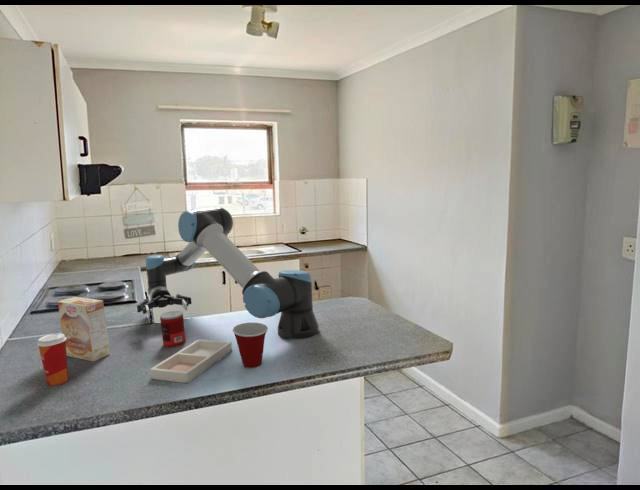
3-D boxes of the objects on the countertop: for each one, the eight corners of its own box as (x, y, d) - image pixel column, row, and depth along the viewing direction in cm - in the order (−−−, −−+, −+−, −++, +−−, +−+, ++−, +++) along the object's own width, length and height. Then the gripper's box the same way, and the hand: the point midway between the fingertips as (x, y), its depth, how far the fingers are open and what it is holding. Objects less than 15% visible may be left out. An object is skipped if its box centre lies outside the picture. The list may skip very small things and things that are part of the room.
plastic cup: (255, 374, 139) (252, 335, 137) (228, 367, 144) (224, 330, 142) (277, 360, 148) (274, 324, 146) (251, 355, 153) (248, 320, 151)
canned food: (189, 339, 171) (186, 310, 170) (180, 347, 164) (177, 317, 162) (168, 339, 172) (165, 310, 170) (159, 347, 164) (156, 317, 163)
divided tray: (199, 347, 163) (198, 339, 162) (232, 350, 158) (231, 342, 158) (151, 378, 139) (150, 369, 139) (187, 383, 135) (186, 373, 134)
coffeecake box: (64, 355, 162) (56, 301, 159) (83, 348, 168) (75, 296, 165) (92, 362, 155) (84, 305, 152) (111, 354, 161) (103, 299, 158)
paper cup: (50, 377, 144) (44, 333, 142) (76, 374, 145) (70, 331, 143) (38, 388, 137) (30, 343, 135) (65, 386, 137) (58, 341, 135)
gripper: (192, 300, 200) (201, 313, 181) (129, 310, 190) (133, 325, 171) (190, 283, 199) (200, 295, 180) (127, 292, 188) (130, 305, 169)
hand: (167, 310), depth 175 cm, fingers open, 13 cm apart
